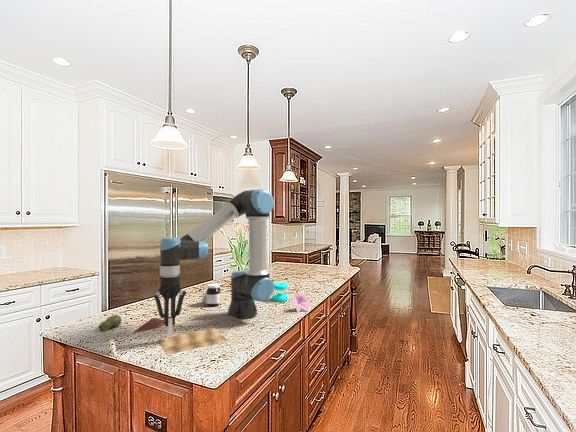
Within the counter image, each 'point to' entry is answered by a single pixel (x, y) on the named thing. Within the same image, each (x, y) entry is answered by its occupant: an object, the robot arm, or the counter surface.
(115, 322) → the pear
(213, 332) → the plank
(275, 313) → the counter surface
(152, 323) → the wooden tablet
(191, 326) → the counter surface
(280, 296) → the donuts
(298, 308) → the lily
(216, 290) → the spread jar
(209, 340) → the laid boards
